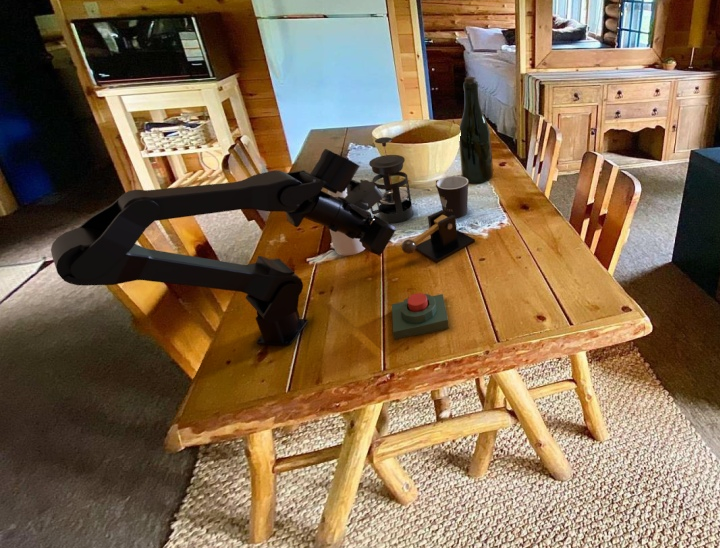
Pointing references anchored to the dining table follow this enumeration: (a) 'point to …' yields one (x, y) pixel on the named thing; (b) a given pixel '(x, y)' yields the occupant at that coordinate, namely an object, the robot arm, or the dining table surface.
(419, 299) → the button
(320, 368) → the dining table surface
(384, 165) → the french press
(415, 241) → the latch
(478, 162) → the wine bottle
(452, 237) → the lever switch
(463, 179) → the coffee mug
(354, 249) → the milk bottle
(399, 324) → the button box
